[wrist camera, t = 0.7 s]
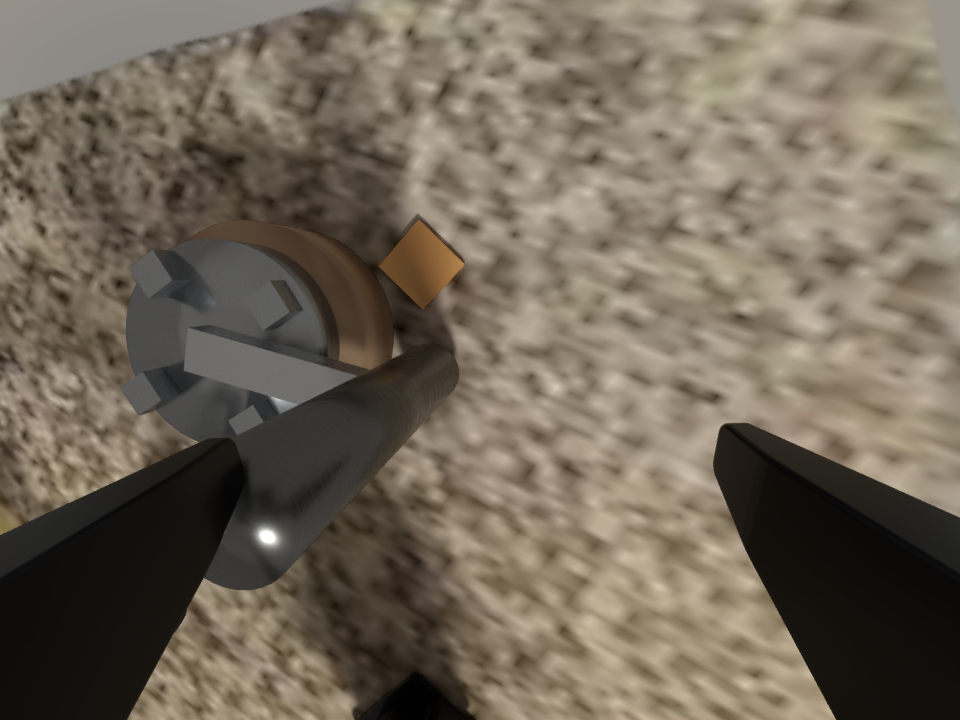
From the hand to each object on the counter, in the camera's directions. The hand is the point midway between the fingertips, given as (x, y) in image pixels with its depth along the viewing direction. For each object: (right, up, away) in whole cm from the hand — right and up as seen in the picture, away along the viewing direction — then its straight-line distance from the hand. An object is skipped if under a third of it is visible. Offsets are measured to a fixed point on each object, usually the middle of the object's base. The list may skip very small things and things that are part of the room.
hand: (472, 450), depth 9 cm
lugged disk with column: (-8, +2, +16) cm, 18 cm away
